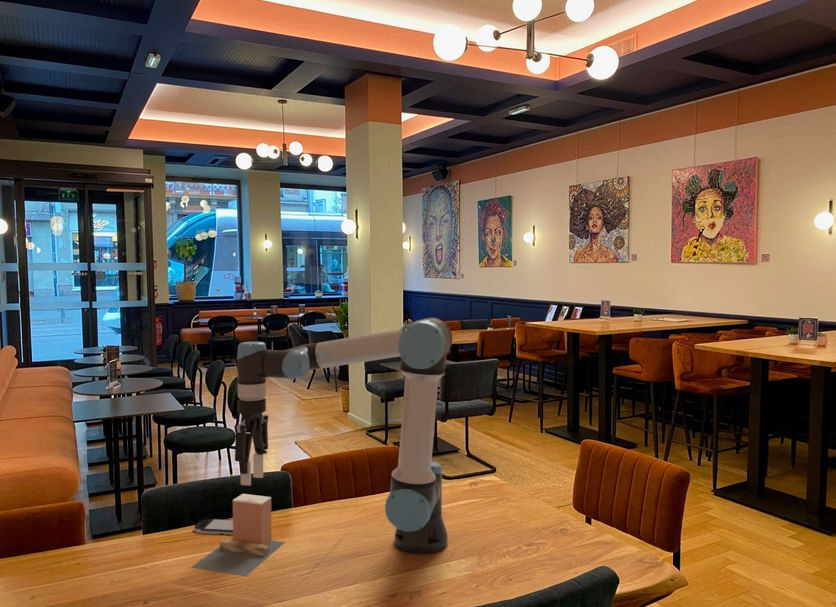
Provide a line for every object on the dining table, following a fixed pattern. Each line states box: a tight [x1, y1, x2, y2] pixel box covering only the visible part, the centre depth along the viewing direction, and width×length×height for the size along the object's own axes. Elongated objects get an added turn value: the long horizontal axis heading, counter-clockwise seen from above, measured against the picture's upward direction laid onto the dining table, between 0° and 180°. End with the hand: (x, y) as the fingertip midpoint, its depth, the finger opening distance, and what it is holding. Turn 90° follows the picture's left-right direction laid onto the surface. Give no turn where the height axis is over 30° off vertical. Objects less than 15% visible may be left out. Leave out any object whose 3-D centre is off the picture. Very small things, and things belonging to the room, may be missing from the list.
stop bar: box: [219, 538, 269, 556], centre depth 163 cm, size 14×2×2 cm, turn 74°
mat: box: [191, 536, 286, 577], centre depth 161 cm, size 16×20×1 cm
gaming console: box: [193, 518, 233, 536], centre depth 177 cm, size 19×9×2 cm, turn 85°
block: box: [232, 493, 272, 545], centre depth 166 cm, size 9×5×13 cm, turn 74°
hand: (252, 480), depth 166 cm, fingers open, 6 cm apart
